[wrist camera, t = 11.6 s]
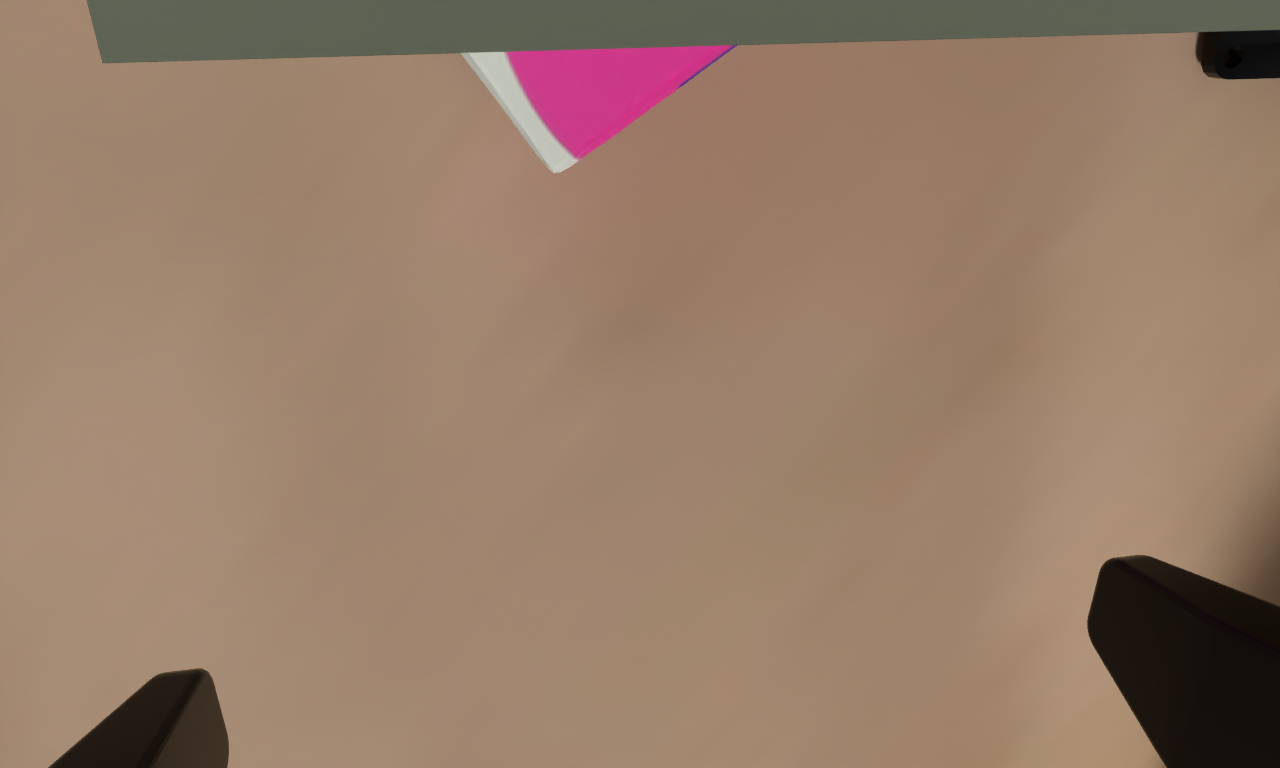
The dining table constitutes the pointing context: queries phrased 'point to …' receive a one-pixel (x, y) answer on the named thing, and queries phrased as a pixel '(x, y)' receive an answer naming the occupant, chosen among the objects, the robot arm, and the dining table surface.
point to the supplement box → (584, 91)
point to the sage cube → (615, 24)
